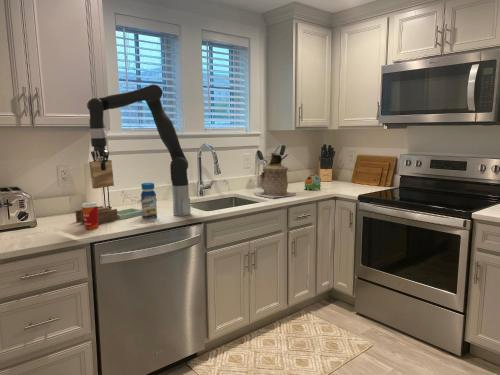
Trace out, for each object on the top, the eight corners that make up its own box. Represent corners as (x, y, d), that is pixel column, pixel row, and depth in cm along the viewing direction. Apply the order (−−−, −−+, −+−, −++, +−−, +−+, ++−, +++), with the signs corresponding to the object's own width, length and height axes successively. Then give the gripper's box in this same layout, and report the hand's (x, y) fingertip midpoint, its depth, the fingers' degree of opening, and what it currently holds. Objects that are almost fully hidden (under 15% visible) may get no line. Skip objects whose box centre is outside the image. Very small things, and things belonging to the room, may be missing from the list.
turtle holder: (326, 188, 306) (327, 174, 305) (314, 191, 294) (314, 176, 292) (314, 187, 315) (314, 173, 313) (301, 190, 302) (301, 175, 300)
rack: (118, 222, 200) (117, 209, 199) (91, 228, 188) (90, 214, 187) (102, 219, 209) (101, 206, 208) (76, 224, 197) (75, 210, 196)
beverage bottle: (159, 217, 211) (158, 182, 208) (153, 220, 203) (151, 184, 200) (145, 217, 213) (143, 182, 210) (139, 220, 205) (136, 184, 202)
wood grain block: (113, 185, 204) (111, 160, 202) (95, 188, 196) (92, 161, 193) (110, 185, 206) (108, 159, 204) (92, 188, 197) (89, 161, 195)
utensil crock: (298, 195, 276) (298, 152, 271) (271, 199, 262) (271, 153, 257) (277, 191, 296) (276, 150, 291) (251, 194, 282) (250, 152, 277)
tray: (145, 216, 213) (144, 210, 213) (120, 222, 201) (120, 215, 200) (132, 214, 221) (132, 207, 220) (108, 219, 208) (107, 212, 208)
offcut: (107, 219, 201) (106, 207, 200) (90, 223, 193) (89, 211, 192) (105, 219, 202) (104, 207, 202) (87, 222, 195) (86, 210, 194)
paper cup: (81, 230, 184) (79, 203, 182) (98, 228, 189) (96, 201, 187) (85, 234, 178) (83, 205, 176) (102, 231, 182) (100, 203, 180)
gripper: (112, 136, 196) (115, 169, 198) (97, 137, 204) (100, 169, 207) (99, 137, 190) (102, 171, 192) (84, 138, 198) (87, 170, 201)
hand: (101, 170), depth 200 cm, fingers closed on wood grain block, 3 cm apart
